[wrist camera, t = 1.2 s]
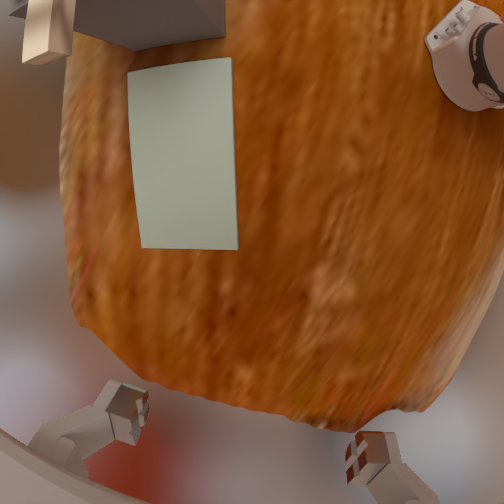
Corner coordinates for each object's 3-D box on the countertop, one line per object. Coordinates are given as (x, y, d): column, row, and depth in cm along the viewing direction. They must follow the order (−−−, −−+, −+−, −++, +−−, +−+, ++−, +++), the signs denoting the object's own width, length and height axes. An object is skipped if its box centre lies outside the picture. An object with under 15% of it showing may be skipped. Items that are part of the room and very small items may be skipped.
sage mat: (238, 247, 55) (237, 250, 54) (144, 246, 58) (142, 247, 57) (232, 58, 43) (231, 57, 42) (130, 73, 45) (127, 72, 44)
